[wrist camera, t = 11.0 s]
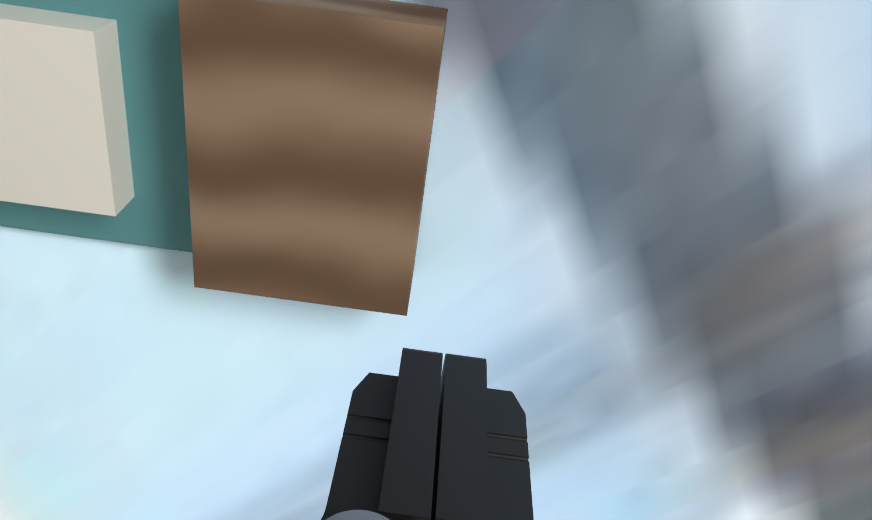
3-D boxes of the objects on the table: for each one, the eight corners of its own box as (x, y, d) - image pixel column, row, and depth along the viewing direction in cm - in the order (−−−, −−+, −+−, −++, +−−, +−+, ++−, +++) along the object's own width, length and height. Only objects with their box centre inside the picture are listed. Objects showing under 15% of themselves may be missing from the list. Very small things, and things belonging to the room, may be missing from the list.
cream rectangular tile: (93, 31, 34) (116, 19, 36) (-55, 10, 34) (-23, 0, 36) (115, 216, 39) (134, 196, 41) (-13, 198, 39) (13, 179, 41)
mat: (-58, -64, 35) (-65, -63, 35) (186, -29, 35) (183, -27, 35) (3, 221, 43) (-2, 225, 43) (200, 248, 43) (198, 253, 43)
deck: (207, -26, 35) (177, -11, 32) (447, 8, 35) (444, 27, 32) (217, 251, 43) (194, 286, 40) (412, 277, 44) (406, 315, 40)
